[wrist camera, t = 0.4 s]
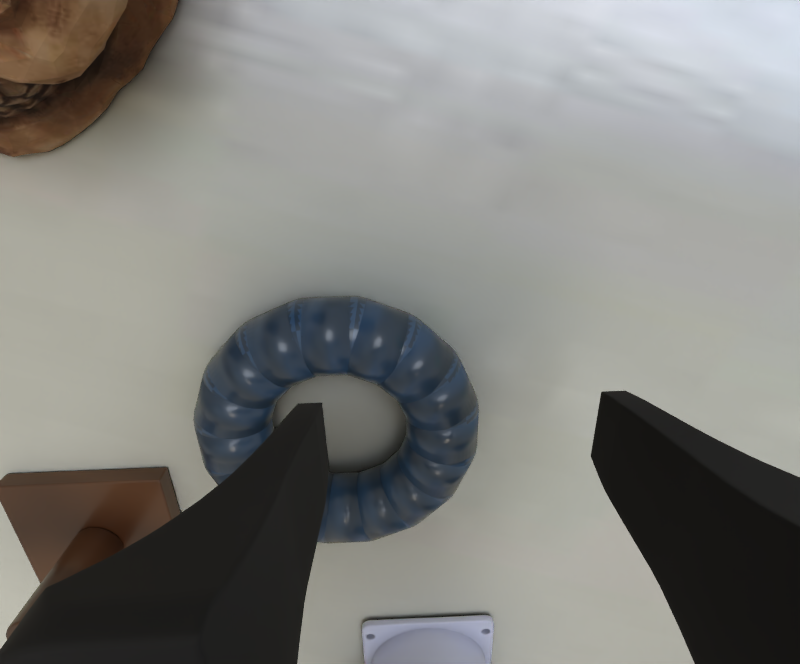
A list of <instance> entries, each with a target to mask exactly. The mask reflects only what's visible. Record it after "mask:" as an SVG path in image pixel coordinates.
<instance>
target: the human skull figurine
mask: <svg viewBox="0 0 800 664" xmlns="http://www.w3.org/2000/svg"><path fill="white" fill-rule="evenodd" d="M178 1H179V0H0V153H2V154H5V155H9V156H12V157H15V156H20V155H25V154H32V153H40V152H48V151H51V150H53V149H55V148H57V147H59V146H62V145H64V144H65V143H66V142H68V141H69V140H71V139H72V138H74V137H75V136H77V135H78V134H79V133H81V132H82V131H83V130H84V129H86V128H87V127H88V126H89V125H90V124H92V123H93V122H94V121H95V120H96V119H97V118H98V117H99V116H100V115H101V114H102V113H103V112H104V111H105V110H106V109H107V108H108V106H109V104H110V103H111V101H112V100H113V98H114V97H115V95H116V94H117V92H118V91H119V90H120V89H121V88H122V87H124V86H125V85H126V84H127V83H129V82H130V81H131V80H132V79H133V78H134V77H135V76H136V75H137V74H138V73H139V72H140V71H141V70H142V69H143V67H144V65H145V62H146V60H147V58H148V55H149V53H150V51H151V50H152V48H153V47H154V45H155V44H156V42H157V41H158V39H159V38H160V36H161V35H162V33H163V32H164V30H165V29H166V27H167V26H168V24H169V23H170V22H171V20H172V19H173V17H174V13H175V10H176V7H177V4H178Z"/></svg>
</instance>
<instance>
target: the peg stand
mask: <svg viewBox="0 0 800 664" xmlns="http://www.w3.org/2000/svg"><path fill="white" fill-rule="evenodd" d="M0 502H1V504H2V506H3V508H4V510H5V512H6V514H7V516H8V518H9V520H10V522H11V524H12V526H13V528H14V530H15V532H16V534H17V536H18V538H19V541H20V543H21V545H22V547H23V549H24V551H25V553H26V555H27V557H28V559H29V561H30V563H31V565H32V567H33V569H34V571H35V573H36V575H37V577H38V579H39V581H40V583H41V584H40V585H39V586H38V588H37V589H36V591H35V592H34V593H33V595H32V596H31V597H30V599H29V600H28V601H27V603H26V604H25V606H24V607H23V608H22V610H21V611H20V612H19V614H18V615H17V616H16V618H15V619H14V621H13V622H12V623H11V625H10V626H9V627H8V629H7V633H6V637H7V640H8V638H9V637H10V635H11V634H12V633H13V631H14V630H15V628H16V627H17V626H18V624H19V623H20V621H21V620H22V619H23V617H24V616H25V614H26V613H27V612H28V610H29V609H30V608H31V606H32V605H33V604H34V602H35V601H36V600H37V598H38V597H39V596H40V595H41V593H42V592H43V591H44V590H45V588H46V587H48V586H51V585H53V584H55V583H57V582H59V581H61V580H63V579H66V578H68V577H70V576H72V575H74V574H76V573H78V572H80V571H82V570H84V569H86V568H88V567H90V566H92V565H94V564H96V563H98V562H100V561H102V560H104V559H106V558H108V557H110V556H112V555H114V554H115V553H117V552H119V551H121V550H123V549H124V548H126V547H128V546H130V545H131V544H133V543H135V542H137V541H138V540H140V539H142V538H143V537H145V536H147V535H148V534H150V533H152V532H153V531H155V530H157V529H158V528H160V527H161V526H163V525H164V524H166V523H167V522H169V521H170V520H172V519H173V518H175V517H176V516H178V515H179V514H180V510H179V506H178V503H177V500H176V496H175V493H174V489H173V486H172V482H171V479H170V475H169V472H168V468H166V467H161V468H136V469H112V470H87V471H62V472H38V473H13V474H7V475H6V476H4V477H3V478H2V479H1V480H0Z"/></svg>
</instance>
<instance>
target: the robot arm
mask: <svg viewBox="0 0 800 664" xmlns="http://www.w3.org/2000/svg"><path fill="white" fill-rule="evenodd" d="M591 458H592V460H593V463H594V465H595V468H596V471H597V473H598V476H599V478H600V480H601V483H602V485H603V487H604V489H605V491H606V493H607V495H608V497H609V499H610V500H611V502H612V504H613V506H614V507H615V509H616V511H617V512H618V514H619V516H620V518H621V519H622V521H623V523H624V524H625V526H626V528H627V530H628V531H629V533H630V535H631V536H632V538H633V540H634V541H635V543H636V545H637V546H638V548H639V550H640V551H641V553H642V555H643V557H644V558H645V560H646V562H647V563H648V565H649V567H650V568H651V570H652V572H653V574H654V576H655V578H656V580H657V581H658V583H659V585H660V587H661V589H662V591H663V593H664V596H665V598H666V600H667V602H668V604H669V606H670V609H671V611H672V613H673V615H674V617H675V619H676V622H677V624H678V626H679V628H680V630H681V633H682V635H683V637H684V640H685V642H686V644H687V647H688V649H689V651H690V654H691V656H692V658H693V661H694V663H695V664H800V477H797V476H795V475H792V474H790V473H788V472H785V471H783V470H781V469H778V468H776V467H774V466H771V465H769V464H766V463H764V462H762V461H760V460H758V459H755V458H753V457H751V456H749V455H747V454H745V453H743V452H741V451H739V450H737V449H735V448H732V447H730V446H728V445H726V444H724V443H722V442H720V441H718V440H717V439H715V438H713V437H711V436H709V435H707V434H705V433H703V432H701V431H699V430H698V429H696V428H694V427H692V426H690V425H688V424H687V423H685V422H683V421H681V420H679V419H678V418H676V417H674V416H672V415H670V414H669V413H667V412H665V411H663V410H661V409H660V408H658V407H656V406H654V405H652V404H651V403H649V402H647V401H645V400H643V399H641V398H639V397H637V396H635V395H633V394H631V393H629V392H627V391H608V392H601V398H600V404H599V410H598V416H597V422H596V428H595V434H594V440H593V446H592V452H591ZM328 473H329V462H328V453H327V444H326V435H325V426H324V417H323V408H322V403H304V404H297V405H296V406H295V407H294V409H293V410H292V411H291V412H290V413H289V414H288V415H287V416H286V418H285V419H284V420H283V421H282V422H281V423H280V425H279V426H278V427H277V428H276V429H275V430H274V431H273V432H272V434H271V435H270V436H269V437H268V438H267V439H266V440H265V441H264V442H263V443H262V444H261V445H260V446H259V448H258V449H257V450H256V451H255V452H254V453H253V454H252V455H251V456H250V457H249V458H248V459H247V460H246V461H245V462H244V463H243V464H241V465H240V466H239V467H238V468H237V469H236V470H235V471H234V472H233V473H232V474H231V475H230V476H229V477H228V478H226V479H225V480H224V481H223V482H222V483H221V484H219V485H218V486H217V487H216V488H214V489H213V490H212V491H211V492H209V493H208V494H207V495H206V496H204V497H203V498H202V499H200V500H199V501H198V502H196V503H195V504H194V505H192V506H191V507H189V508H188V509H186V510H185V511H183V512H182V513H180V514H179V515H178V516H176V517H175V518H173V519H172V520H170V521H169V522H167V523H166V524H164V525H163V526H161V527H160V528H158V529H157V530H155V531H153V532H152V533H150V534H148V535H147V536H145V537H143V538H142V539H140V540H138V541H137V542H135V543H133V544H131V545H130V546H128V547H126V548H124V549H123V550H121V551H119V552H117V553H115V554H114V555H112V556H110V557H108V558H106V559H104V560H102V561H100V562H98V563H96V564H94V565H92V566H90V567H88V568H86V569H84V570H82V571H80V572H78V573H76V574H74V575H72V576H70V577H68V578H66V579H63V580H61V581H59V582H57V583H55V584H53V585H51V586H48V587H46V588H45V590H44V591H43V592H42V593H41V595H40V596H39V597H38V598H37V600H36V601H35V602H34V604H33V605H32V606H31V608H30V609H29V610H28V612H27V613H26V614H25V616H24V617H23V619H22V620H21V621H20V623H19V624H18V626H17V627H16V628H15V630H14V631H13V633H12V634H11V635H10V637H9V638H8V640H7V641H6V642H5V644H4V645H3V647H2V648H1V649H0V664H297V659H298V650H299V642H300V634H301V626H302V617H303V609H304V602H305V596H306V591H307V585H308V580H309V576H310V571H311V567H312V562H313V558H314V553H315V549H316V544H317V540H318V536H319V531H320V526H321V522H322V517H323V513H324V508H325V503H326V495H327V485H328ZM493 632H494V622H493V618H492V617H491V616H488V615H474V616H452V617H430V618H407V619H385V620H368V621H365V622H364V623H363V624H362V639H363V650H364V661H365V664H491V657H492V644H493Z"/></svg>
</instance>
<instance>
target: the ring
mask: <svg viewBox="0 0 800 664" xmlns="http://www.w3.org/2000/svg"><path fill="white" fill-rule="evenodd" d="M329 375H350V376H353V377H356V378H359V379H362V380H365V381H369V382H372V383H375V384H377V385H378V386H380V387H381V388H382V389H384V390H385V391H386V392H387V393H389V394H390V395H391V396H392V397H394V398H395V399H396V400H397V401H398V403H399V405H400V407H401V409H402V411H403V413H404V414H405V416H406V431H407V434H406V436H405V438H404V440H403V443H402V445H401V447H400V449H399V450H398V451H397V452H396V453H395V454H394V455H392V456H391V457H390V458H389V459H388V460H387V461H386V462H384V463H383V464H380V465H378V466H375V467H373V468H370V469H367V470H365V471H362V472H353V473H330V472H329V473H328V485H327V495H326V503H325V508H324V513H323V517H322V522H321V526H320V531H319V536H318V540H317V542H319V543H347V542H368V541H373V540H377V539H380V538H382V537H385V536H388V535H391V534H394V533H397V532H399V531H402V530H405V529H408V528H411V527H413V526H415V525H417V524H418V523H420V522H421V521H422V520H424V519H425V518H426V517H427V516H429V515H430V514H431V513H432V512H434V511H435V510H436V509H437V508H439V507H440V506H441V505H442V504H444V503H445V502H446V501H447V500H449V499H450V498H451V497H452V496H453V494H454V493H455V491H456V490H457V488H458V486H459V484H460V482H461V480H462V479H463V477H464V475H465V473H466V471H467V470H468V468H469V466H470V464H471V462H472V460H473V458H474V456H475V453H476V448H477V435H478V413H479V407H478V400H477V396H476V394H475V391H474V389H473V387H472V385H471V383H470V380H469V378H468V376H467V374H466V371H465V369H464V367H463V365H462V362H461V360H460V358H459V357H458V355H457V353H456V352H455V351H454V350H453V349H452V348H451V347H450V346H449V345H448V344H447V343H446V342H445V341H443V340H442V339H441V338H440V337H439V336H438V335H437V334H435V333H434V332H433V331H432V330H431V329H430V328H429V327H427V326H426V325H425V324H424V323H423V322H422V321H421V320H419V319H418V318H416V317H415V316H413V315H411V314H409V313H407V312H404V311H401V310H398V309H395V308H392V307H389V306H386V305H383V304H381V303H378V302H375V301H372V300H369V299H366V298H362V297H358V296H343V297H315V298H301V299H297V300H294V301H291V302H288V303H286V304H284V305H282V306H279V307H277V308H275V309H273V310H270V311H268V312H266V313H264V314H261V315H259V316H257V317H255V318H252V319H250V320H249V321H247V322H245V323H244V324H243V325H242V326H241V327H240V328H238V329H237V331H236V332H235V333H234V334H233V335H232V336H231V337H230V339H229V340H228V341H227V342H226V343H225V344H224V345H223V346H222V348H221V349H220V350H219V351H218V352H217V353H216V354H215V356H214V357H213V358H212V359H211V360H210V362H209V363H208V365H207V367H206V369H205V371H204V374H203V378H202V382H201V386H200V390H199V394H198V398H197V402H196V407H195V411H194V426H195V430H196V434H197V438H198V443H199V447H200V451H201V455H202V459H203V463H204V465H205V468H206V470H207V471H208V473H209V474H210V475H211V477H212V478H213V479H214V480H215V482H216V483H217V484H218V485H219V484H221V483H222V482H223V481H224V480H225V479H226V478H228V477H229V476H230V475H231V474H232V473H233V472H234V471H235V470H236V469H237V468H238V467H239V466H240V465H241V464H243V463H244V462H245V461H246V460H247V459H248V458H249V457H250V456H251V455H252V454H253V453H254V452H255V451H256V450H257V449H258V448H259V446H260V445H261V444H262V443H263V442H264V441H265V440H266V439H267V438H268V437H269V436H270V435H271V434H272V432H273V431H274V427H273V421H272V415H273V412H274V409H275V406H276V403H277V401H278V400H279V399H280V398H281V397H282V395H283V394H284V393H285V392H286V391H287V390H288V389H289V388H290V387H291V386H293V385H296V384H298V383H301V382H303V381H305V380H308V379H310V378H313V377H315V376H329Z"/></svg>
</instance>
